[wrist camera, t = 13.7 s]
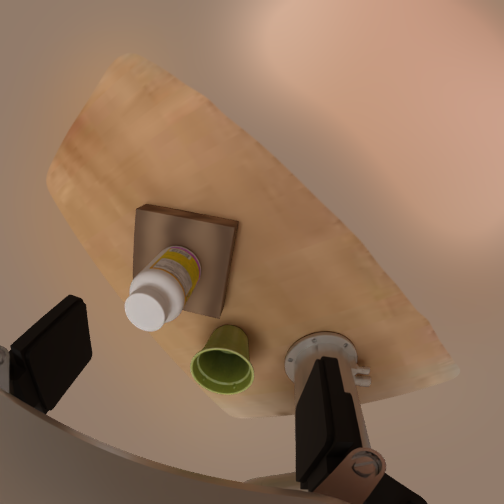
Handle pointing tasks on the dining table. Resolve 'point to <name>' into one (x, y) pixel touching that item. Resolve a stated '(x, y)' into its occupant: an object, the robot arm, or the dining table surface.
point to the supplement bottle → (162, 288)
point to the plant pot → (224, 362)
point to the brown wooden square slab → (197, 241)
